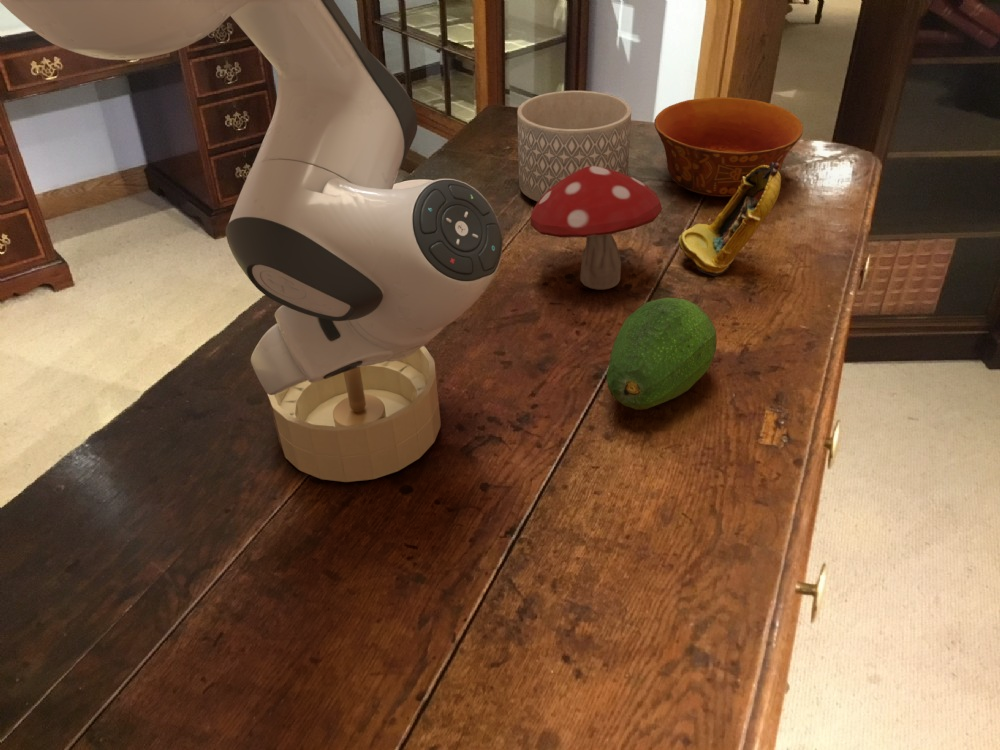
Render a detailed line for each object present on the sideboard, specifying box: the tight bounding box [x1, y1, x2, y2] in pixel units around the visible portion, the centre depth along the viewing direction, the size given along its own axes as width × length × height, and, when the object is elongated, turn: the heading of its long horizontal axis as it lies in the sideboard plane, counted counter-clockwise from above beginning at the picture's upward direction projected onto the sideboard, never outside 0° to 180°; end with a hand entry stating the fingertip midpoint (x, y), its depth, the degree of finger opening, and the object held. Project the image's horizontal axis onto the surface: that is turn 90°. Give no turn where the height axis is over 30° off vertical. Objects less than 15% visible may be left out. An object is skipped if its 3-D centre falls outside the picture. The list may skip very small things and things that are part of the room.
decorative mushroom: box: [530, 166, 663, 291], centre depth 105 cm, size 16×16×15 cm
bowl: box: [653, 96, 804, 198], centre depth 128 cm, size 21×21×10 cm
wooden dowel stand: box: [333, 367, 386, 427], centre depth 82 cm, size 5×5×17 cm
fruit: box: [606, 297, 717, 410], centre depth 87 cm, size 15×10×10 cm, turn 142°
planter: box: [516, 90, 632, 203], centre depth 127 cm, size 16×16×13 cm
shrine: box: [678, 162, 782, 277], centre depth 107 cm, size 12×8×15 cm
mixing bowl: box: [266, 345, 442, 483], centre depth 85 cm, size 16×16×7 cm
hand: (344, 350), depth 82 cm, fingers open, 7 cm apart
